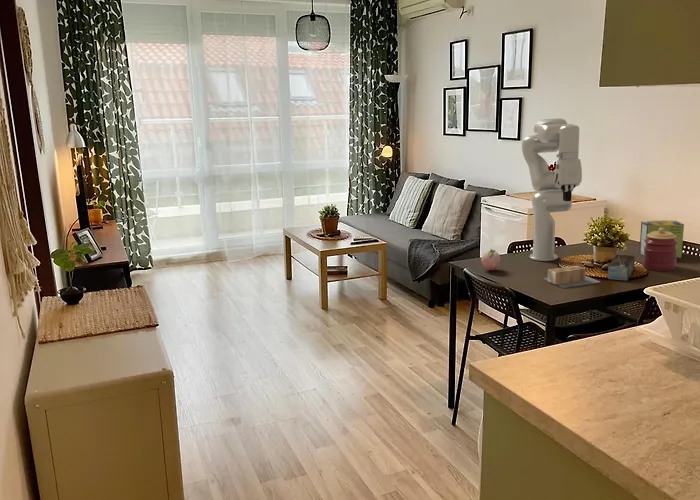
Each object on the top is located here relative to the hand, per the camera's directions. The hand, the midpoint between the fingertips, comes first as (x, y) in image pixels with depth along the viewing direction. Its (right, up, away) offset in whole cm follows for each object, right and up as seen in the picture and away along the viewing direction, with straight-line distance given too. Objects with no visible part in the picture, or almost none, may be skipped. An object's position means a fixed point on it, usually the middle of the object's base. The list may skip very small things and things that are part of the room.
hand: (567, 200), depth 243 cm
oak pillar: (-8, -31, -3) cm, 32 cm away
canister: (+44, -28, +11) cm, 54 cm away
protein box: (+55, -23, +31) cm, 67 cm away
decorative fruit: (-27, -30, +21) cm, 45 cm away
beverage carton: (+25, -31, +5) cm, 40 cm away
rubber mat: (+2, -33, 0) cm, 33 cm away
